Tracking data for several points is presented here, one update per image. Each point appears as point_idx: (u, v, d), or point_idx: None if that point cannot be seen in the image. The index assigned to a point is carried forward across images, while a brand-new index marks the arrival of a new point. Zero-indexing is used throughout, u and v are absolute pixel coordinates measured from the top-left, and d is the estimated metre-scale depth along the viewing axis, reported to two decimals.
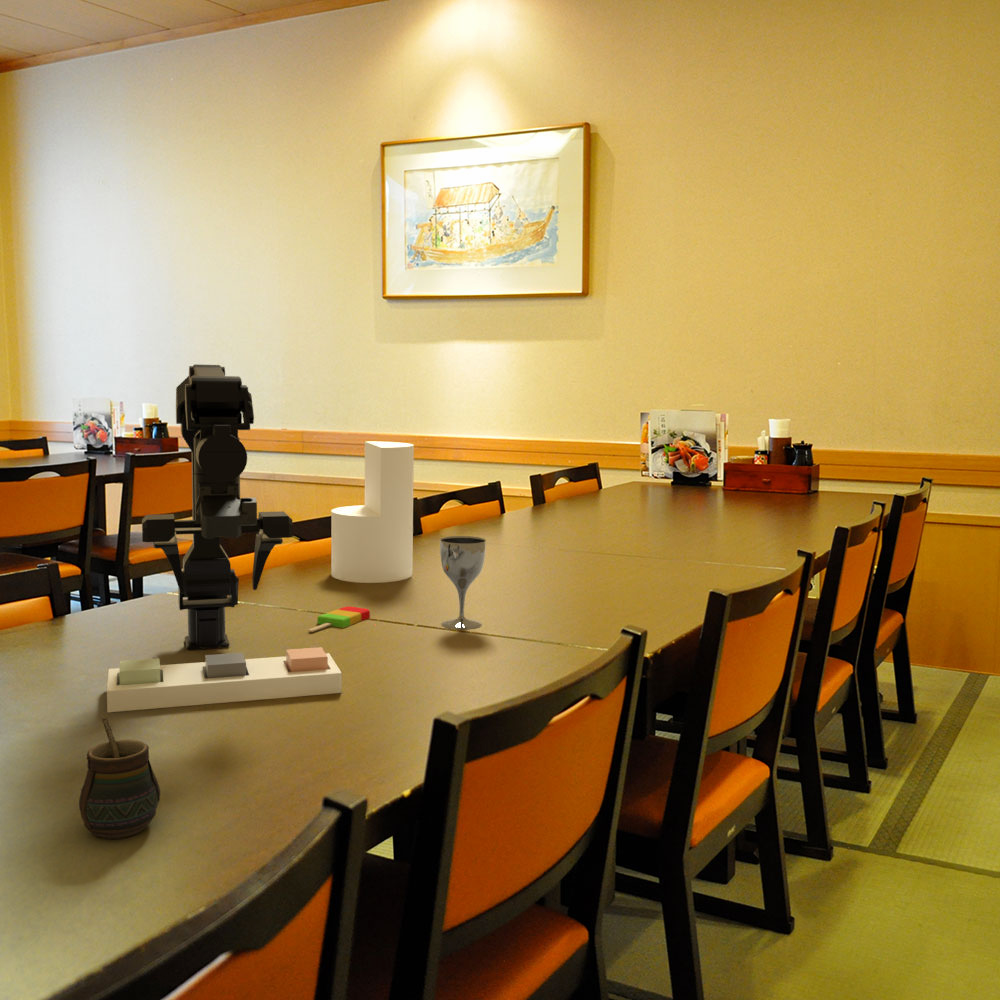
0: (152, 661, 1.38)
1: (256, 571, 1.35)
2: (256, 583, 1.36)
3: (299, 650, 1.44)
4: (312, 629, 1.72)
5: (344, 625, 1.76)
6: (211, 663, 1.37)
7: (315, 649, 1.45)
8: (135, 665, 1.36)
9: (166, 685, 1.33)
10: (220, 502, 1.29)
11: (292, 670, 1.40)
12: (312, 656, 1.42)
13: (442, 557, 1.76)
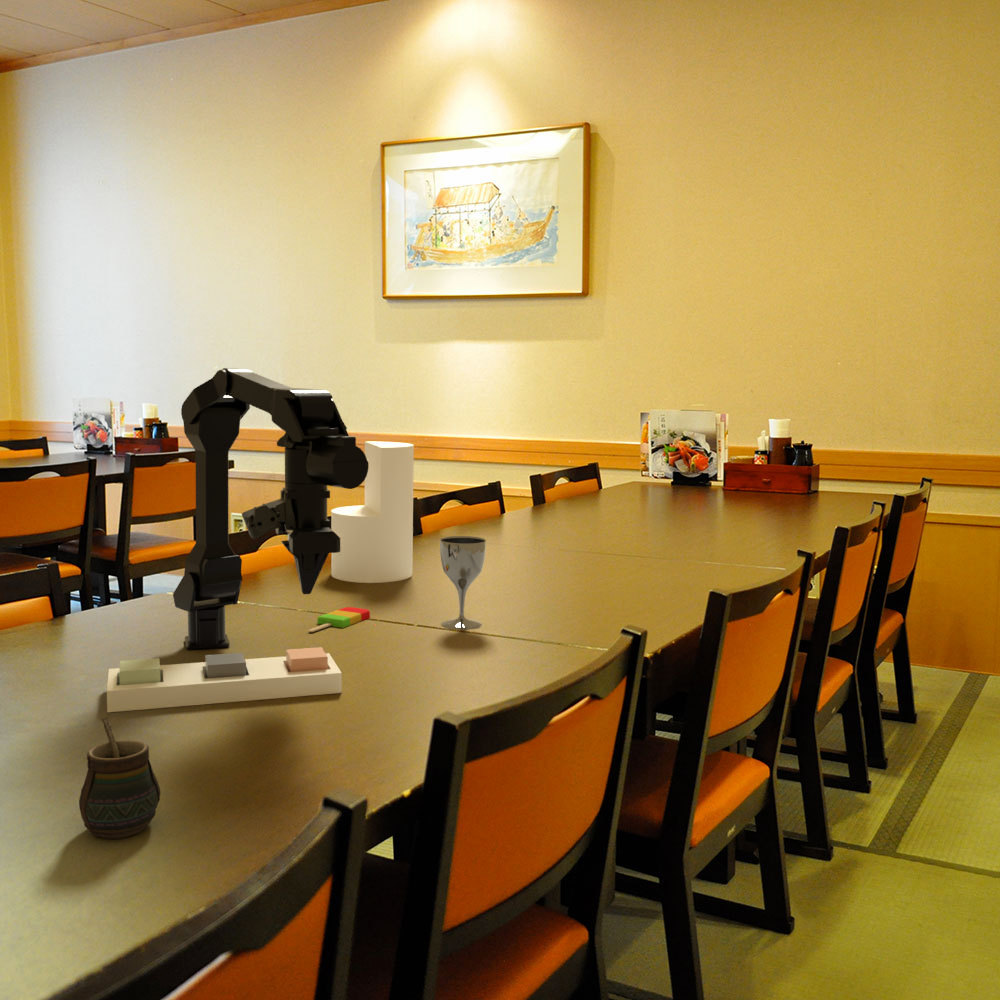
0: (152, 661, 1.38)
1: (299, 575, 1.41)
2: (301, 587, 1.41)
3: (299, 650, 1.44)
4: (312, 629, 1.72)
5: (344, 625, 1.76)
6: (211, 663, 1.37)
7: (315, 649, 1.45)
8: (135, 665, 1.36)
9: (166, 685, 1.33)
10: (268, 505, 1.39)
11: (292, 670, 1.40)
12: (312, 656, 1.42)
13: (442, 557, 1.76)
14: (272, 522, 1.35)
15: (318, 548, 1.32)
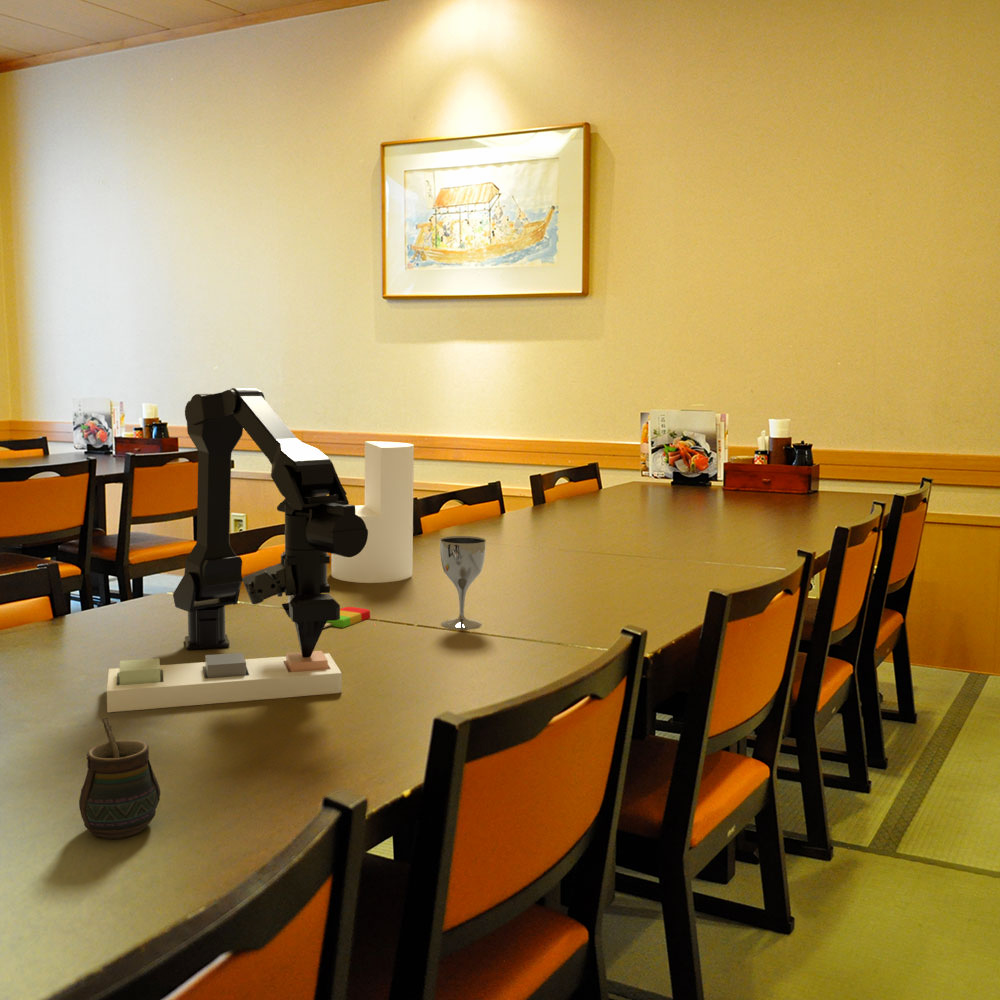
0: (152, 661, 1.38)
1: (299, 639, 1.42)
2: (301, 651, 1.43)
3: (299, 654, 1.44)
4: None
5: (344, 625, 1.76)
6: (211, 663, 1.37)
7: (315, 653, 1.45)
8: (135, 665, 1.36)
9: (166, 685, 1.33)
10: (268, 570, 1.40)
11: None
12: (312, 660, 1.42)
13: (442, 557, 1.76)
14: (272, 589, 1.36)
15: (318, 616, 1.34)
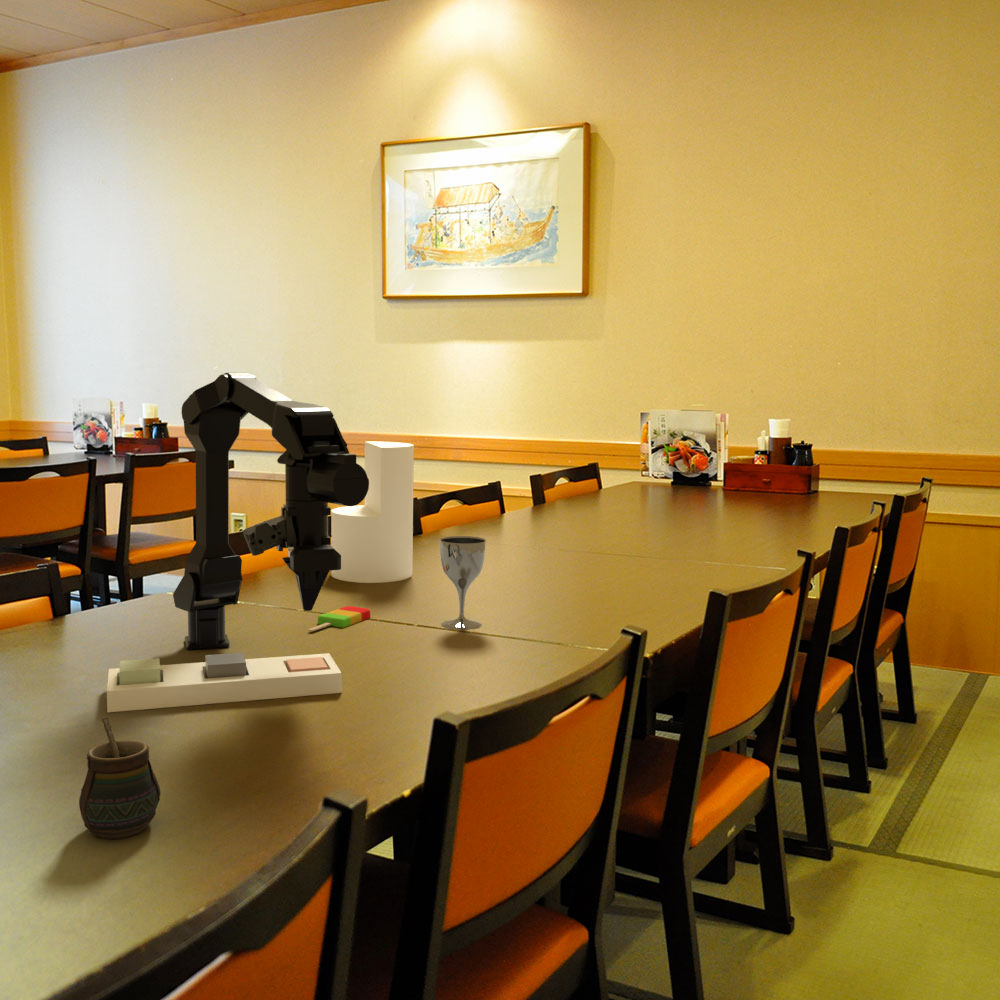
0: (152, 661, 1.38)
1: (300, 592, 1.41)
2: (302, 604, 1.42)
3: (299, 660, 1.45)
4: (312, 629, 1.72)
5: (344, 625, 1.76)
6: (211, 663, 1.37)
7: (315, 659, 1.45)
8: (135, 665, 1.36)
9: (166, 685, 1.33)
10: (269, 522, 1.39)
11: None
12: (312, 666, 1.42)
13: (442, 557, 1.76)
14: (273, 539, 1.35)
15: (319, 566, 1.33)
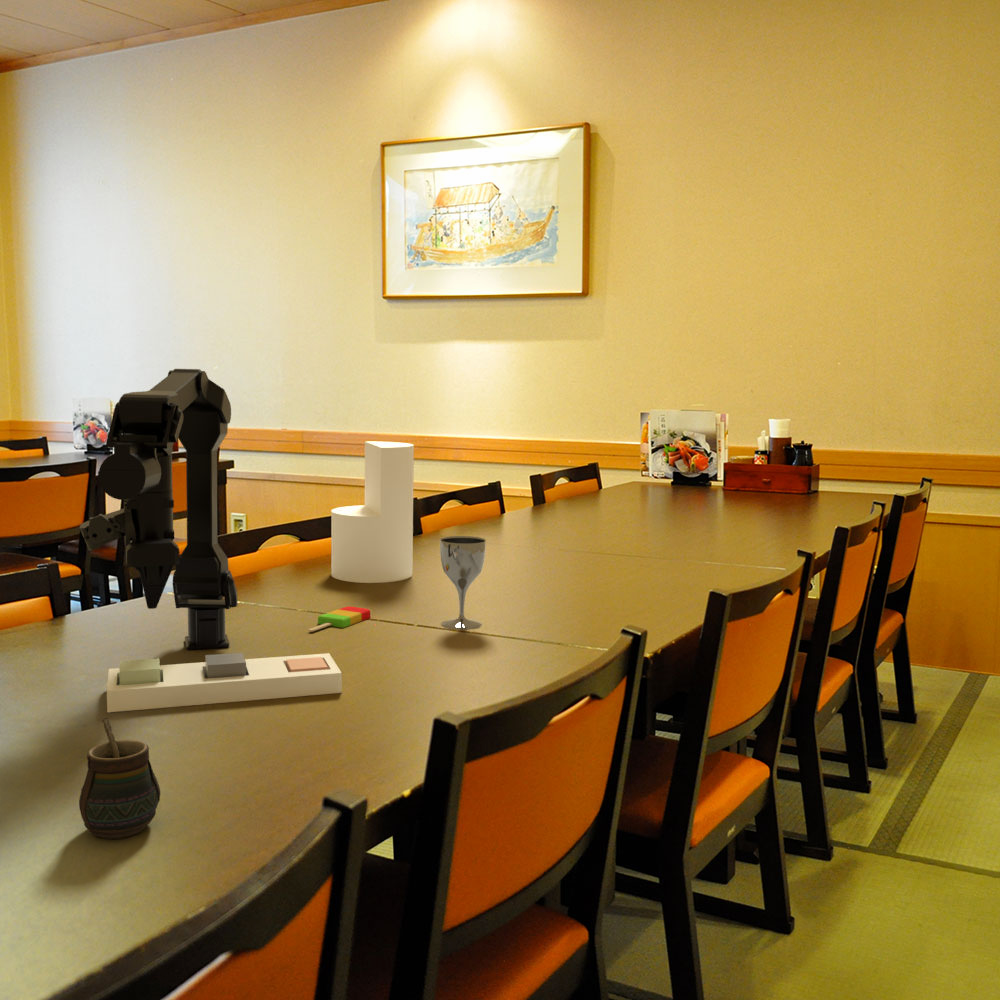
0: (152, 661, 1.38)
1: None
2: (146, 601, 1.35)
3: (299, 660, 1.45)
4: (312, 629, 1.72)
5: (344, 625, 1.76)
6: (211, 663, 1.37)
7: (315, 659, 1.45)
8: (135, 665, 1.36)
9: (166, 685, 1.33)
10: (108, 515, 1.32)
11: None
12: (312, 666, 1.42)
13: (442, 557, 1.76)
14: (108, 533, 1.28)
15: (154, 560, 1.26)
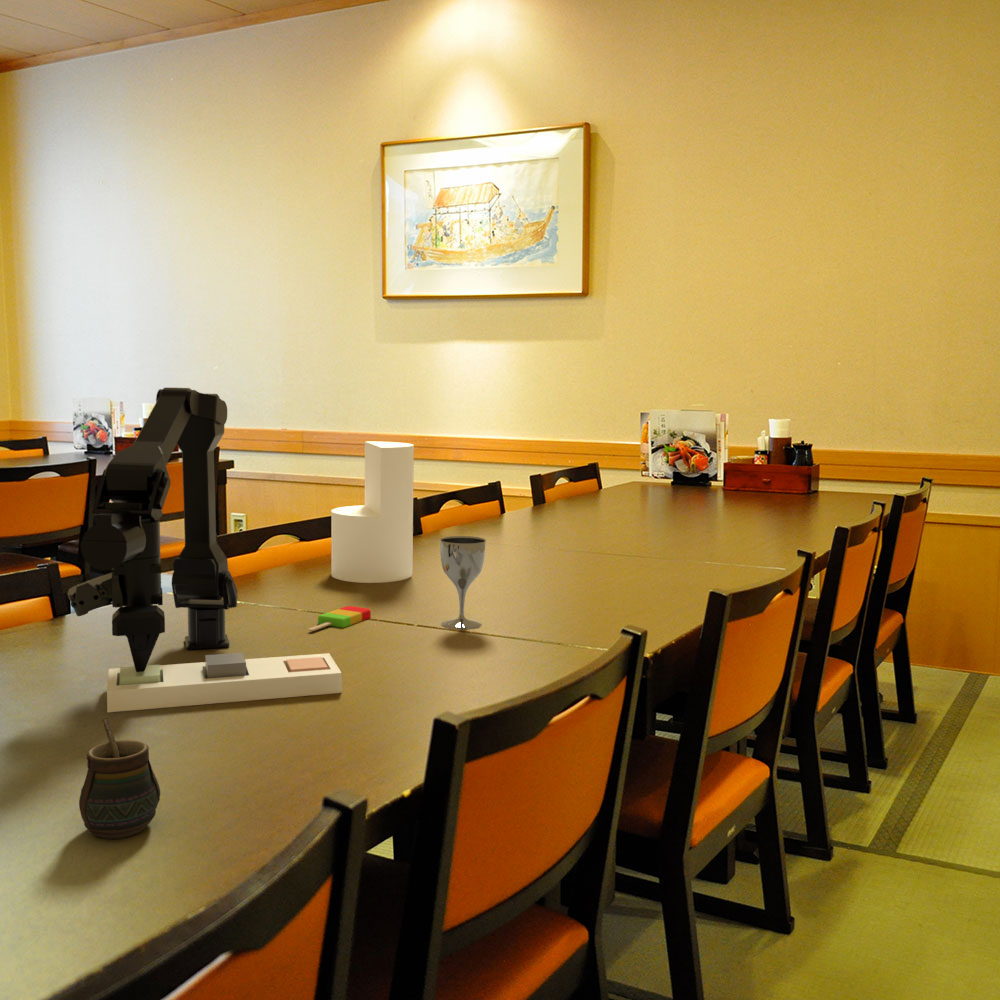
0: (152, 667, 1.38)
1: None
2: (134, 665, 1.35)
3: (299, 660, 1.45)
4: (312, 628, 1.72)
5: (344, 624, 1.76)
6: (211, 663, 1.37)
7: (315, 659, 1.45)
8: (135, 671, 1.36)
9: (166, 685, 1.33)
10: (96, 581, 1.33)
11: None
12: (312, 666, 1.42)
13: (442, 557, 1.76)
14: (95, 600, 1.29)
15: (140, 629, 1.26)
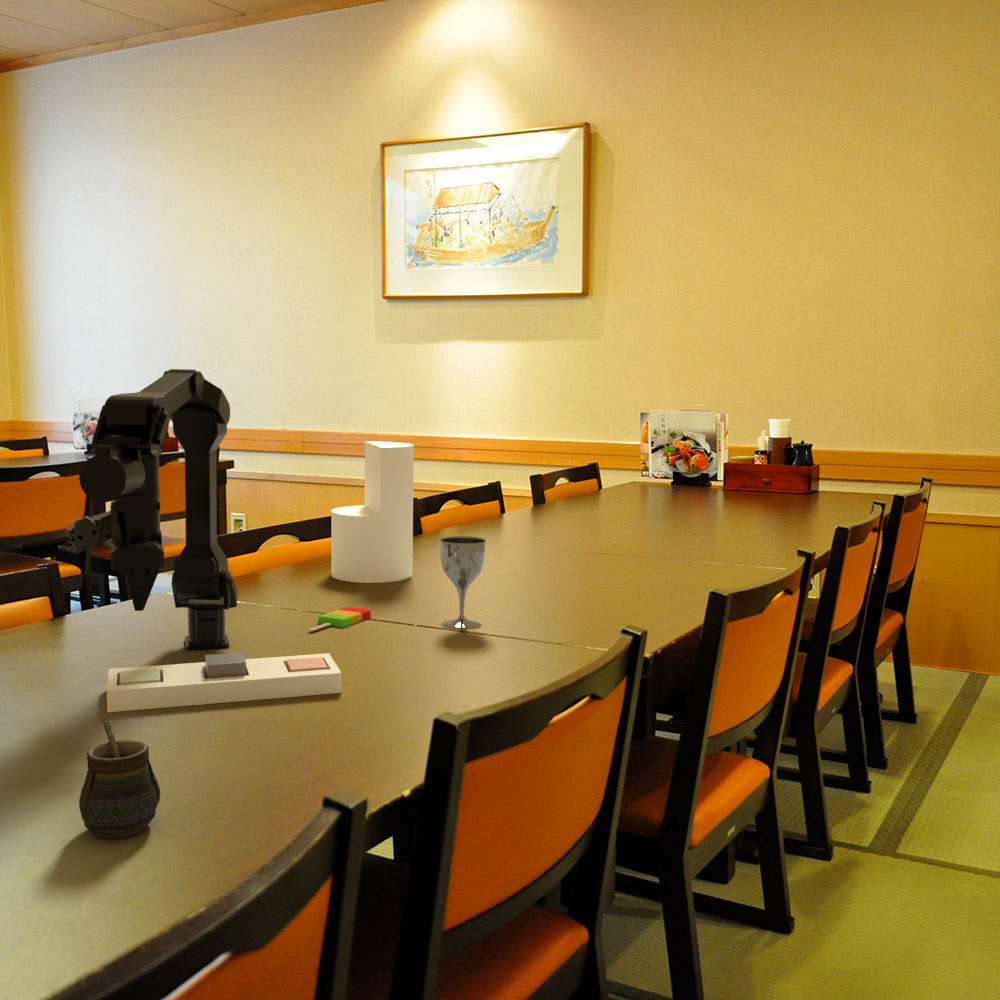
0: (152, 671, 1.38)
1: None
2: (133, 604, 1.34)
3: (299, 660, 1.45)
4: (312, 629, 1.72)
5: (344, 625, 1.76)
6: (211, 663, 1.37)
7: (315, 659, 1.45)
8: (135, 675, 1.36)
9: (166, 685, 1.33)
10: (95, 517, 1.32)
11: None
12: (312, 666, 1.42)
13: (442, 557, 1.76)
14: (94, 535, 1.28)
15: (139, 563, 1.25)
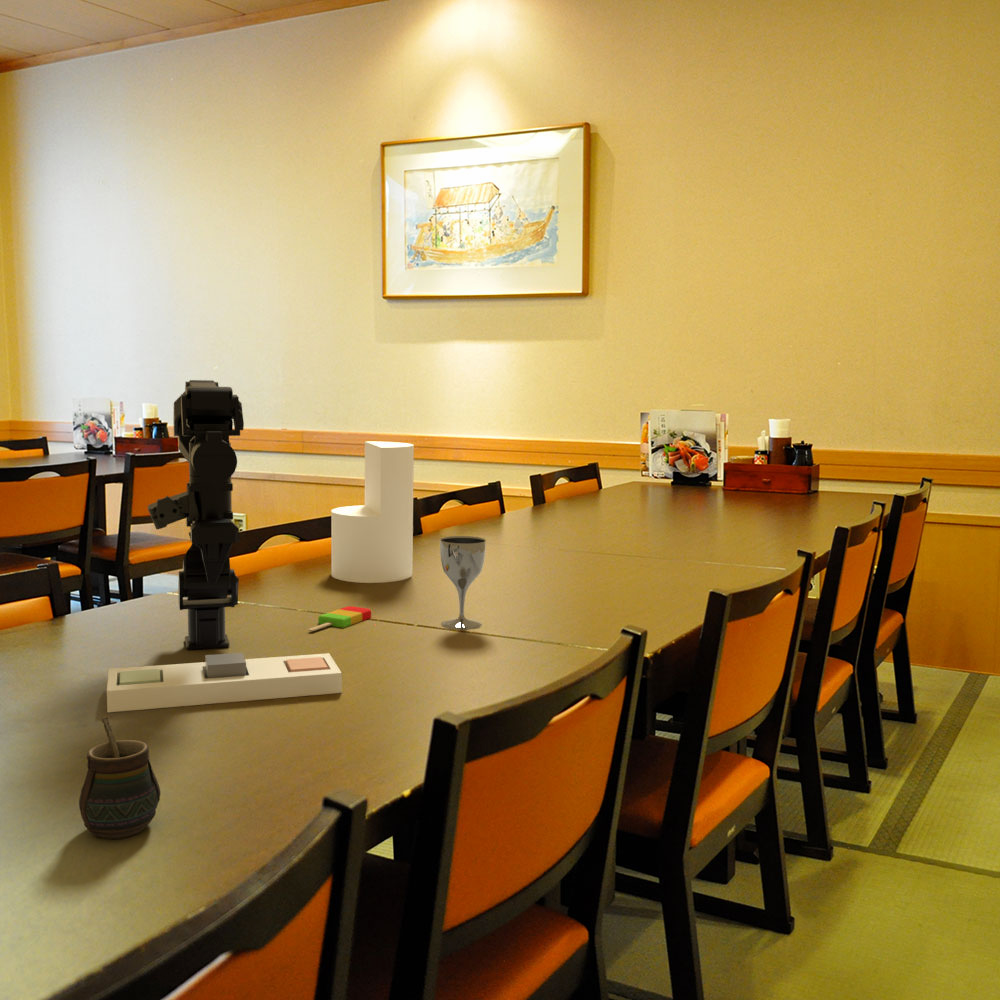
0: (152, 671, 1.38)
1: (204, 565, 1.47)
2: (207, 577, 1.47)
3: (299, 660, 1.45)
4: (312, 628, 1.72)
5: (345, 625, 1.76)
6: (211, 663, 1.37)
7: (315, 659, 1.45)
8: (135, 675, 1.36)
9: (166, 685, 1.33)
10: (173, 498, 1.44)
11: None
12: (312, 666, 1.42)
13: (442, 557, 1.76)
14: (174, 513, 1.40)
15: (217, 538, 1.38)
